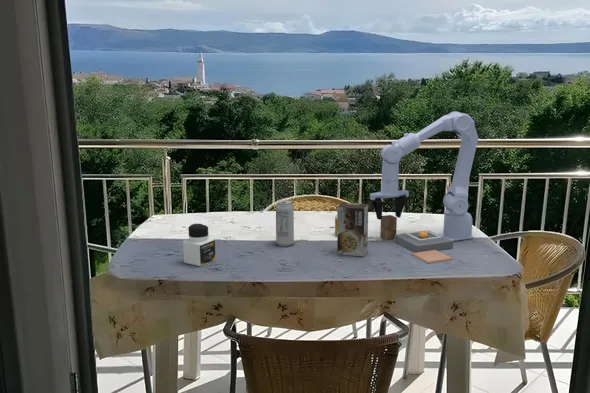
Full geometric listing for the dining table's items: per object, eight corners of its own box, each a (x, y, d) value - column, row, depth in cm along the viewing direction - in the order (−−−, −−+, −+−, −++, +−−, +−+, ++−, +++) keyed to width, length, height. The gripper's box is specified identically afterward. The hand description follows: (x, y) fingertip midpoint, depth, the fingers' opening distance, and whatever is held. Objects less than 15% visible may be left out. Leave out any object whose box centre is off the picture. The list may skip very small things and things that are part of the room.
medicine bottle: (200, 267, 174) (199, 229, 171) (183, 262, 177) (181, 225, 175) (216, 260, 180) (214, 223, 177) (198, 256, 183) (197, 220, 181)
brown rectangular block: (389, 236, 204) (390, 214, 202) (396, 239, 200) (396, 217, 199) (380, 237, 202) (380, 216, 201) (386, 240, 199) (386, 218, 197)
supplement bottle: (348, 237, 203) (349, 211, 200) (333, 237, 204) (334, 210, 201) (350, 233, 208) (351, 207, 206) (335, 232, 209) (336, 207, 207)
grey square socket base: (427, 237, 203) (428, 227, 202) (452, 248, 190) (453, 238, 190) (394, 241, 198) (394, 231, 197) (417, 253, 185) (417, 243, 184)
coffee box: (368, 251, 188) (369, 203, 184) (363, 257, 182) (365, 208, 178) (341, 248, 191) (342, 201, 187) (336, 254, 185) (336, 206, 181)
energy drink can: (297, 244, 195) (297, 201, 192) (285, 248, 191) (284, 204, 188) (284, 240, 199) (284, 199, 196) (272, 244, 195) (272, 202, 192)
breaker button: (424, 237, 196) (424, 230, 195) (429, 239, 193) (429, 232, 192) (416, 238, 194) (417, 231, 194) (421, 241, 192) (422, 233, 191)
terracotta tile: (434, 251, 187) (434, 249, 187) (452, 259, 179) (452, 258, 179) (411, 254, 184) (411, 253, 184) (428, 263, 176) (428, 261, 176)
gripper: (401, 176, 203) (400, 213, 206) (365, 179, 198) (364, 217, 201) (412, 179, 197) (411, 218, 200) (376, 183, 191) (375, 222, 194)
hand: (388, 218), depth 200 cm, fingers open, 7 cm apart
